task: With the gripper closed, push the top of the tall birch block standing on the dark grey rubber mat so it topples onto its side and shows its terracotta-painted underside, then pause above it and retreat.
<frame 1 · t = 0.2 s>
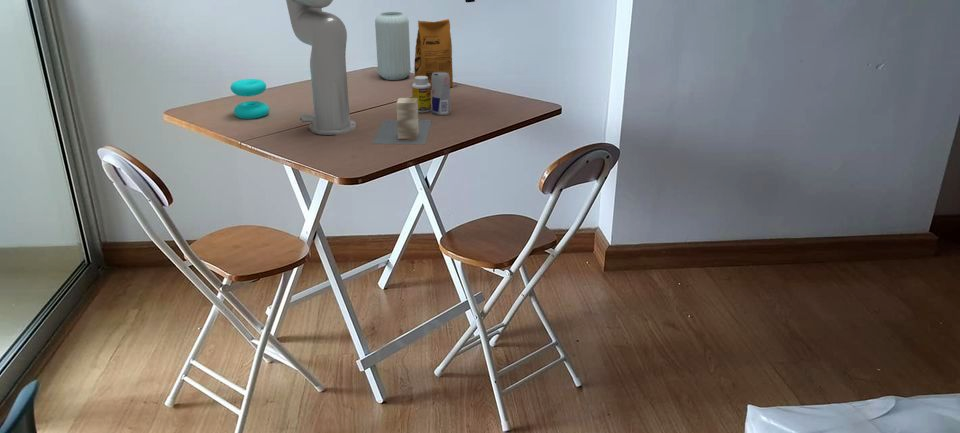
hand: (460, 0, 218), 31 cm above the table, tool pointing down, fingers open, 9 cm apart
vase: (394, 78, 261), on the table
energy drink: (441, 114, 220), on the table
rubber mat: (403, 132, 203), on the table
birch block: (408, 136, 198), resting on rubber mat
coffee package: (433, 86, 250), on the table
donuts: (252, 115, 219), on the table
supplement bottle: (422, 111, 223), on the table
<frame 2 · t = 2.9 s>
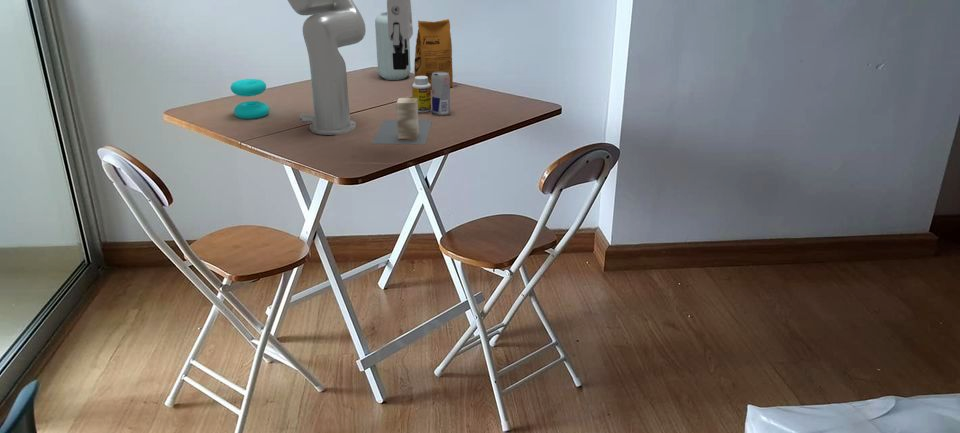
hand: (401, 66, 182), 21 cm above the table, tool pointing down, fingers open, 3 cm apart
nothing on the table moved.
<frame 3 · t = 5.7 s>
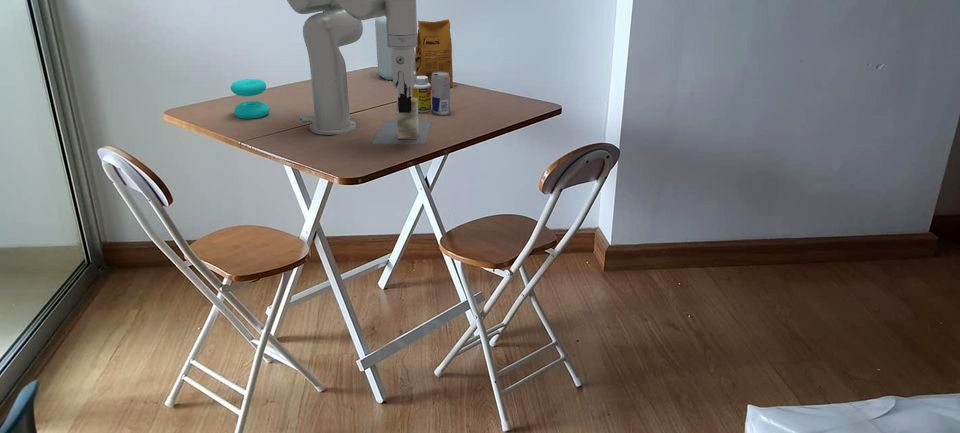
hand: (405, 111, 191), 9 cm above the table, tool pointing down, fingers closed
birch block: (408, 136, 198), resting on rubber mat, touching gripper
everything else where it was.
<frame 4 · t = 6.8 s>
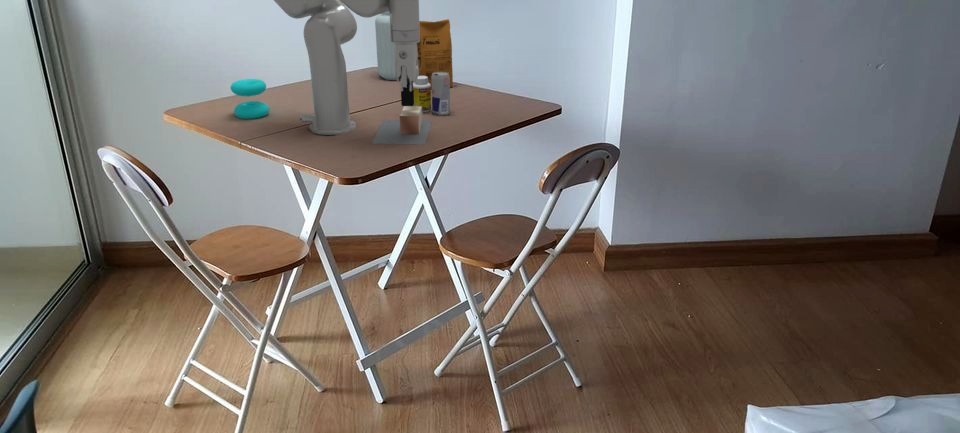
hand: (407, 105, 196), 9 cm above the table, tool pointing down, fingers closed
birch block: (409, 125, 199), point 3 cm above the table, tilted 90°, touching rubber mat
everything else where it was.
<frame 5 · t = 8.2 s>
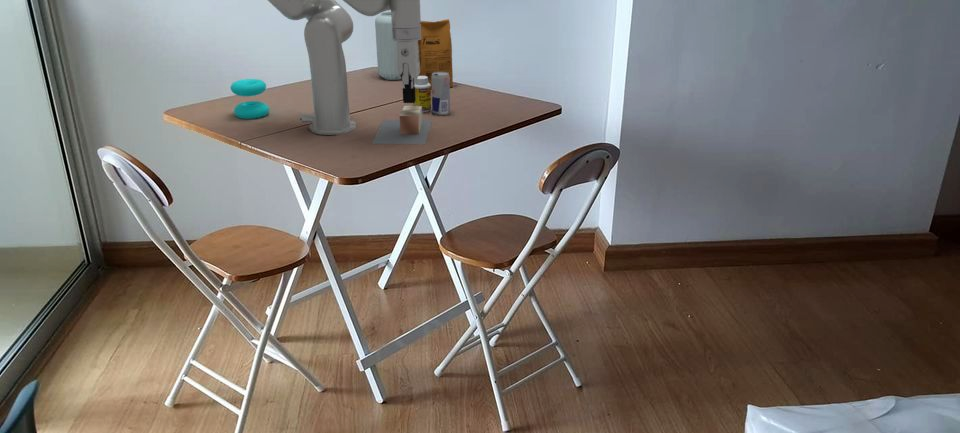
hand: (409, 102, 199), 9 cm above the table, tool pointing down, fingers closed
nothing on the table moved.
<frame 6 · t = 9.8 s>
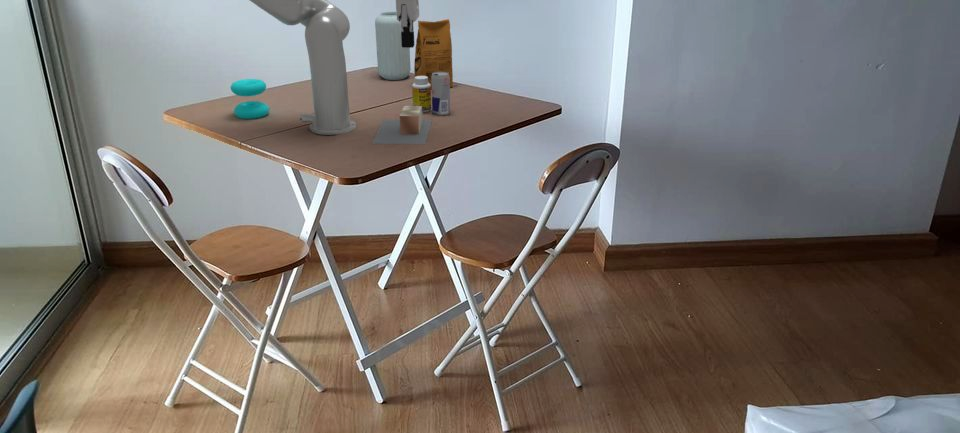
hand: (408, 46, 196), 23 cm above the table, tool pointing down, fingers closed
nothing on the table moved.
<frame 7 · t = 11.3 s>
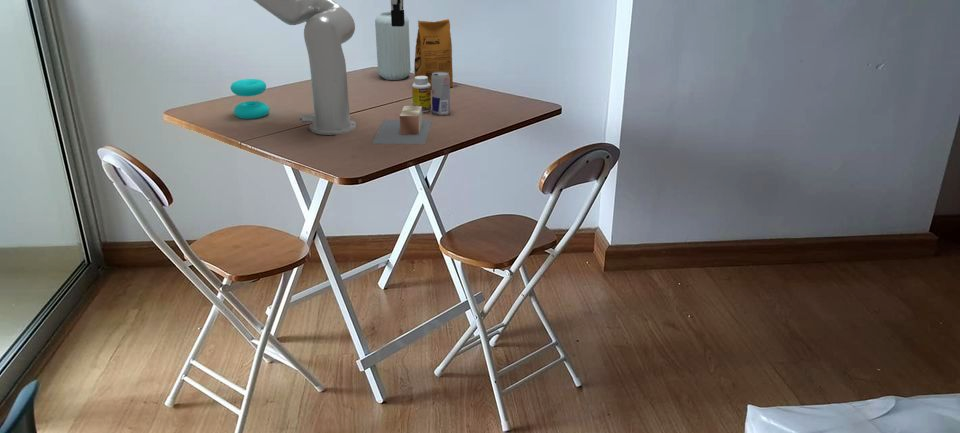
hand: (398, 25, 190), 29 cm above the table, tool pointing down, fingers closed
nothing on the table moved.
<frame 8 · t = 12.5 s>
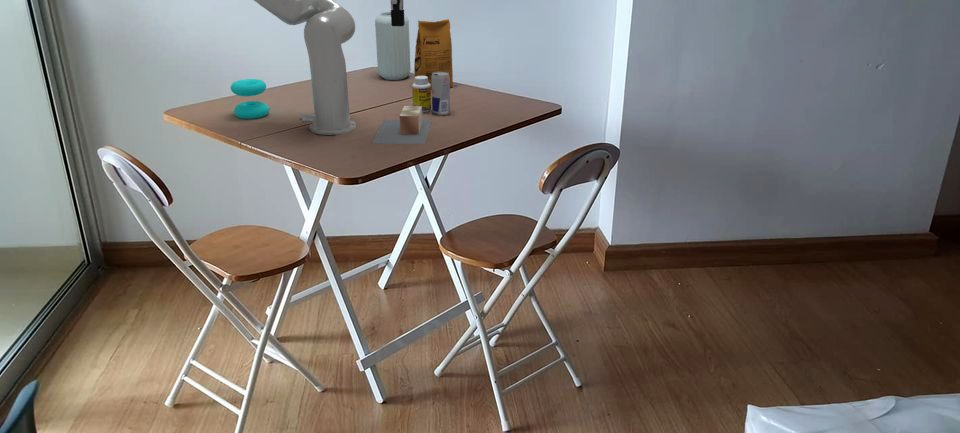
hand: (398, 25, 190), 29 cm above the table, tool pointing down, fingers closed
nothing on the table moved.
at the end: birch block tilted 90°; birch block inside the target area on the rubber mat (2.9 cm from its centre), point 2.9 cm above the rubber mat's base; the gripper is holding nothing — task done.
